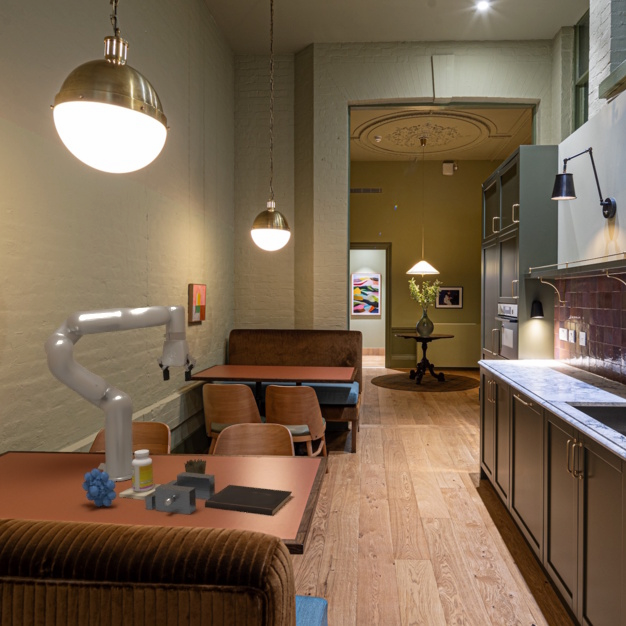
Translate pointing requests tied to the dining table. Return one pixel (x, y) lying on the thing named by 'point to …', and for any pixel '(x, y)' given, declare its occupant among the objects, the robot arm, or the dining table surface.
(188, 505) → the vise
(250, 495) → the hardcover book
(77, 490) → the dining table surface
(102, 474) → the grapes
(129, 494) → the birch board
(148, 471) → the supplement bottle
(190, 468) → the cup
